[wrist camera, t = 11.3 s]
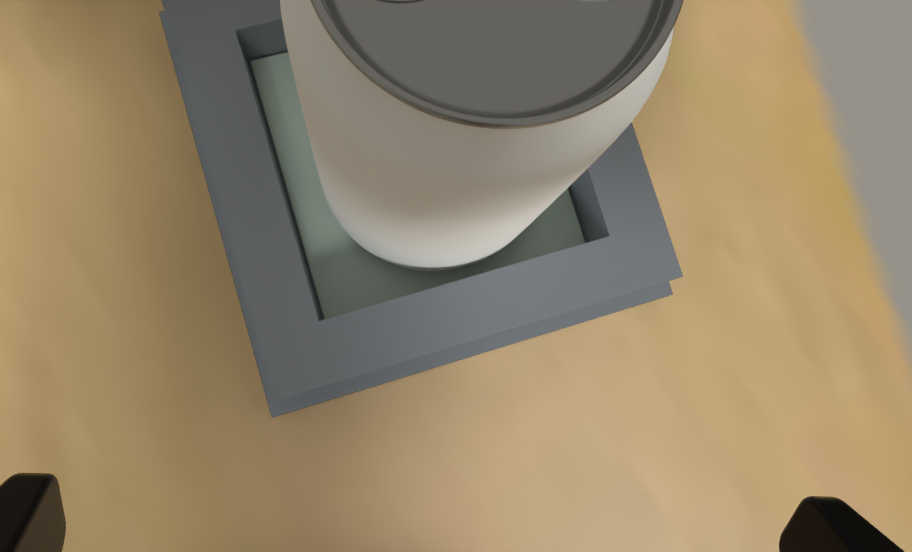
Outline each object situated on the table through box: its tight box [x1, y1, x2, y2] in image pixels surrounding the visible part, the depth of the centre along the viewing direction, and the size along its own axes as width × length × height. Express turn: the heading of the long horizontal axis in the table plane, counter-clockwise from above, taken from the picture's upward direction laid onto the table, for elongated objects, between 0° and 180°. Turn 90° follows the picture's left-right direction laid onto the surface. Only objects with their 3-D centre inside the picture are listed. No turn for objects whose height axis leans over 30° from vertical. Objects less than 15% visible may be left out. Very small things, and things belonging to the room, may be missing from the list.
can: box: [280, 0, 683, 271], centre depth 17 cm, size 6×6×12 cm
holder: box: [159, 0, 683, 417], centre depth 22 cm, size 12×12×3 cm
